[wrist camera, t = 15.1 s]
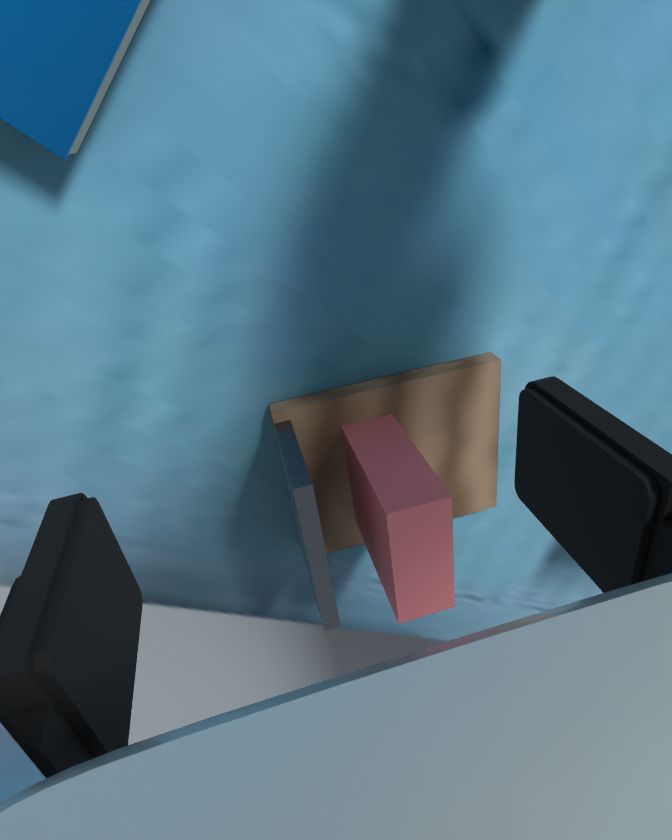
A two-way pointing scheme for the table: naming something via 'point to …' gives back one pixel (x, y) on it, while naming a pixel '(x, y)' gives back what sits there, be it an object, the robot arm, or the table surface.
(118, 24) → the book
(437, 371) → the brown and grey bookend
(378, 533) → the pink rectangular block
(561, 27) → the table surface
